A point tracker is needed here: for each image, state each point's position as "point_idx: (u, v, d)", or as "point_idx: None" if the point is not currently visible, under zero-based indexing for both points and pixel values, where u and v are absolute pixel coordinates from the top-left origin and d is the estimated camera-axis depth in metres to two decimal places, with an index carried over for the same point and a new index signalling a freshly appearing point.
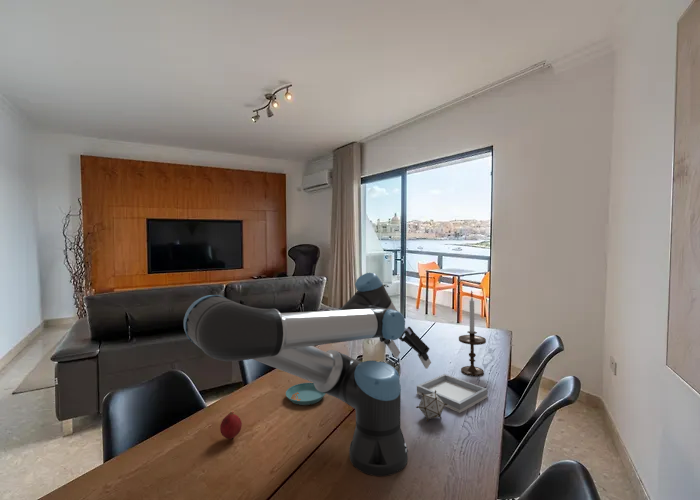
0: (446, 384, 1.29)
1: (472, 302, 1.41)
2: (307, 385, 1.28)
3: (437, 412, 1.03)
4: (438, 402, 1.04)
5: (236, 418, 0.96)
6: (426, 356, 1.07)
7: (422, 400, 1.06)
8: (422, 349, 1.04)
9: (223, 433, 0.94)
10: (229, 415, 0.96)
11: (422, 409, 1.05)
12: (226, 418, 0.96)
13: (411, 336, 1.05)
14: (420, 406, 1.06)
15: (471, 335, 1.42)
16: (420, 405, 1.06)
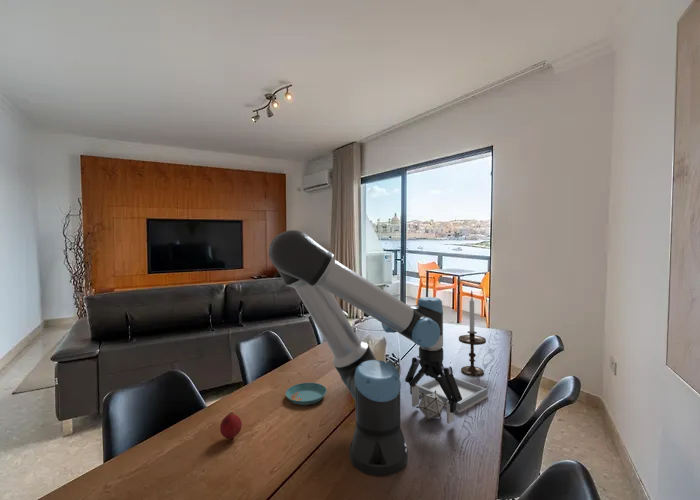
0: None
1: (472, 302, 1.41)
2: (307, 385, 1.28)
3: (437, 412, 1.03)
4: (438, 402, 1.04)
5: (236, 418, 0.96)
6: (454, 407, 1.00)
7: (422, 400, 1.06)
8: (456, 395, 0.98)
9: (223, 433, 0.94)
10: (229, 415, 0.96)
11: (422, 409, 1.05)
12: (226, 418, 0.96)
13: (449, 376, 1.00)
14: (420, 406, 1.06)
15: (471, 335, 1.42)
16: (420, 405, 1.06)
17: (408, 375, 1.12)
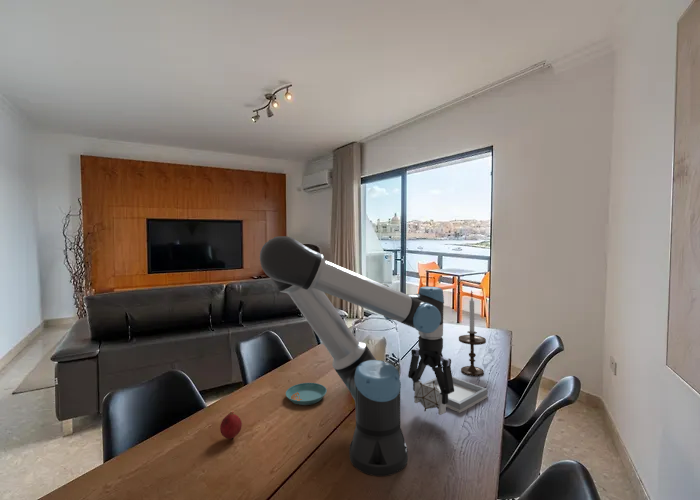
0: None
1: (472, 302, 1.41)
2: (307, 385, 1.28)
3: (435, 402, 1.02)
4: (437, 392, 1.04)
5: (236, 418, 0.96)
6: (446, 399, 1.01)
7: (420, 390, 1.06)
8: (449, 387, 0.99)
9: (223, 433, 0.94)
10: (229, 415, 0.96)
11: (420, 399, 1.05)
12: (226, 418, 0.96)
13: (447, 368, 1.00)
14: (418, 396, 1.06)
15: (471, 335, 1.42)
16: (418, 395, 1.06)
17: (410, 370, 1.11)
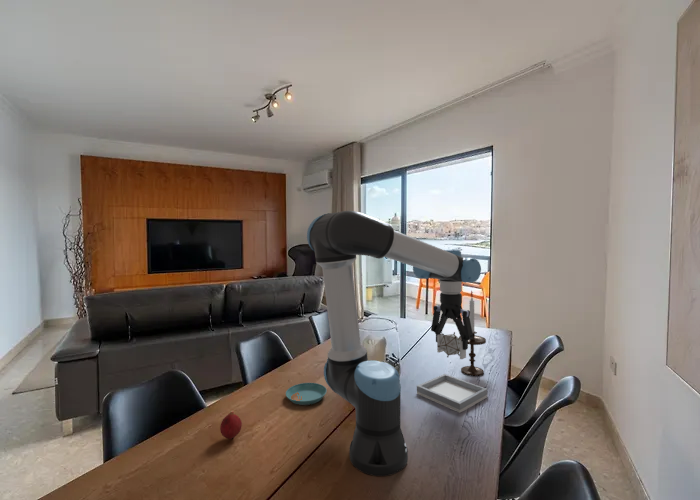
0: (446, 384, 1.29)
1: (472, 302, 1.41)
2: (307, 385, 1.28)
3: (456, 348, 1.17)
4: (457, 340, 1.19)
5: (236, 418, 0.96)
6: (466, 345, 1.16)
7: (443, 339, 1.21)
8: (469, 334, 1.14)
9: (223, 433, 0.94)
10: (229, 415, 0.96)
11: (443, 347, 1.20)
12: (226, 418, 0.96)
13: (466, 318, 1.15)
14: (441, 345, 1.21)
15: None
16: (441, 344, 1.21)
17: (433, 324, 1.26)
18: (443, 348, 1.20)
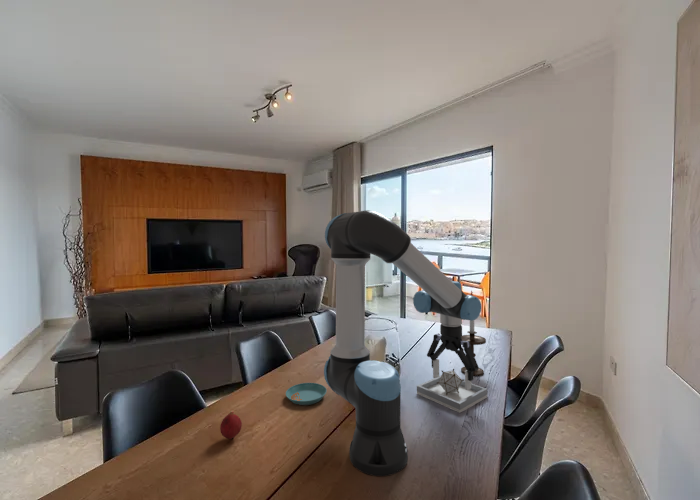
0: None
1: None
2: (307, 385, 1.28)
3: (455, 386, 1.18)
4: (456, 378, 1.19)
5: (236, 418, 0.96)
6: (472, 376, 1.15)
7: (442, 376, 1.22)
8: (473, 364, 1.13)
9: (223, 433, 0.94)
10: (229, 415, 0.96)
11: (442, 384, 1.21)
12: (226, 418, 0.96)
13: (468, 349, 1.15)
14: (440, 382, 1.22)
15: (471, 335, 1.42)
16: (440, 381, 1.22)
17: (430, 350, 1.27)
18: (442, 385, 1.21)
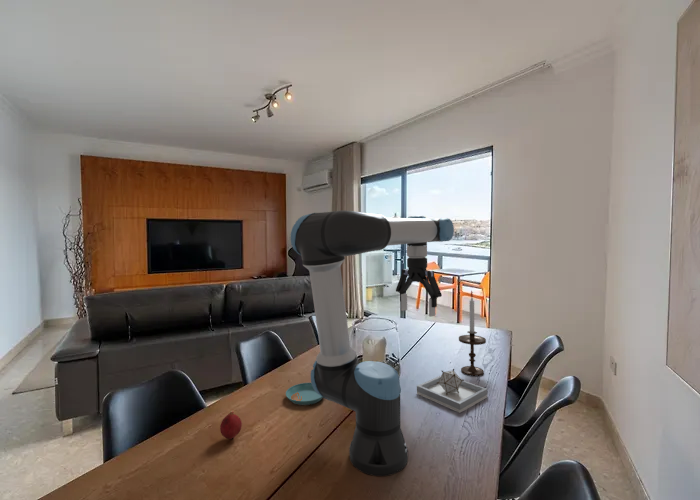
0: None
1: (472, 302, 1.41)
2: (307, 385, 1.28)
3: (455, 386, 1.18)
4: (456, 378, 1.19)
5: (236, 418, 0.96)
6: (435, 303, 1.21)
7: (442, 376, 1.22)
8: (436, 291, 1.20)
9: (223, 433, 0.94)
10: (229, 415, 0.96)
11: (442, 384, 1.21)
12: (226, 418, 0.96)
13: (431, 277, 1.22)
14: (440, 382, 1.22)
15: (471, 335, 1.42)
16: (440, 381, 1.22)
17: (398, 285, 1.33)
18: (442, 385, 1.21)
